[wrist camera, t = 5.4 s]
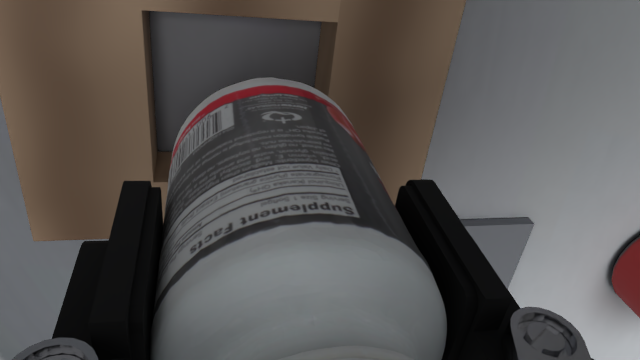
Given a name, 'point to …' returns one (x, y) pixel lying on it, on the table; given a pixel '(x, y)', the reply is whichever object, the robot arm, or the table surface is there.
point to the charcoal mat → (501, 242)
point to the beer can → (628, 276)
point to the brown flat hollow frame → (139, 106)
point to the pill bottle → (286, 239)
